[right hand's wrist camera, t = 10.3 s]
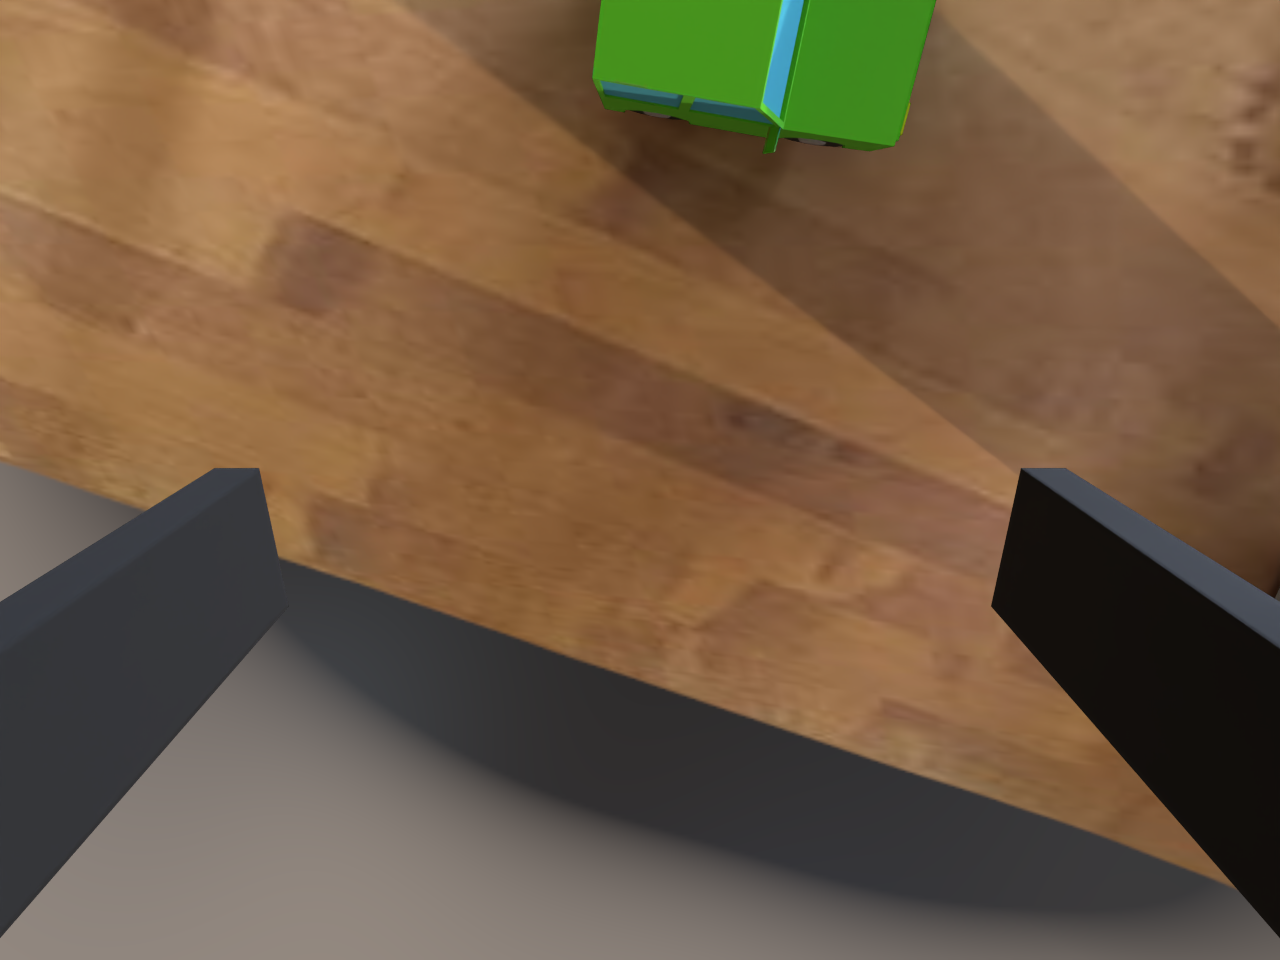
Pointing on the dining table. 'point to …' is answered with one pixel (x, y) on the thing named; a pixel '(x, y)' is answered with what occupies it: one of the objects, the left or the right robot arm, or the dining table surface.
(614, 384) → the dining table surface
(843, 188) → the dining table surface
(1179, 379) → the dining table surface
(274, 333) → the dining table surface
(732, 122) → the toy car
